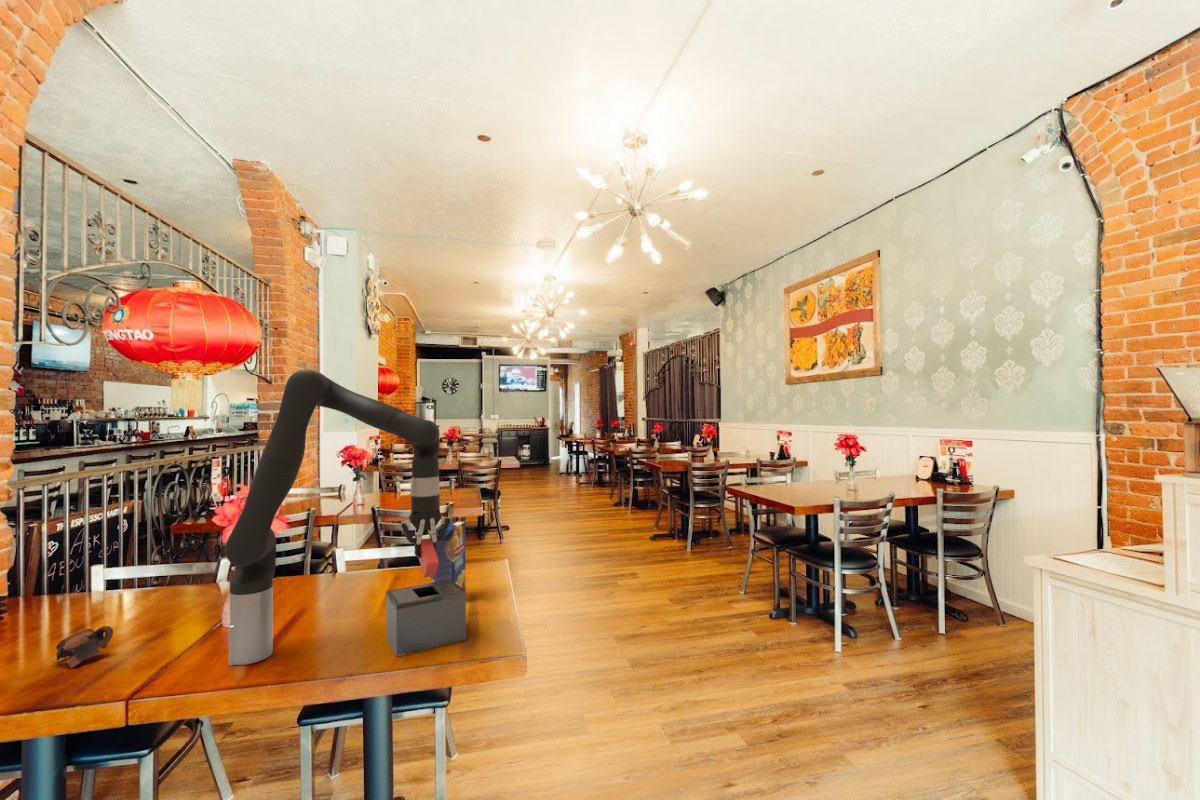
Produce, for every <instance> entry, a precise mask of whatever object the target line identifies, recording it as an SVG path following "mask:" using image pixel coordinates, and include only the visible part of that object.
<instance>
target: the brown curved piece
mask: <svg viewBox="0 0 1200 800" xmlns="http://www.w3.org/2000/svg"><path fill="white" fill-rule="evenodd" d="M113 634H114V629H113V628H112V627H111V626H109V625H108V626H107V625H103V626H100V627H99V628H97V629H96V630H95V629H92V628H85V629H81V630H79V631H76V632H74V633H72V634H71V635H69V636H67V637H65V638H64V639H62V640H61V641H60V642H58V643H57V645H56V646H55V648H56V649H55V650H56V654H55V655H56V661H57V662H58V661H60V660H61V659H66V658H68V657H69V658H70V659H68V660H67V661H66V664H67V665H68V666H69V667H70V668H71V669H73V667H74V668H75V667H76V666H78V665H80V664H81V663H82V662H84V661H86V660H87V661H88V660H89V659H91V658H93V657H94V658H95V657H97V656H100V655H101V651H100V648H101V649H103V650H104V649H106V648H107V647H108V645H109V644H108V643H109V642H110V641H111V640H112V637H113Z"/></svg>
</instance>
